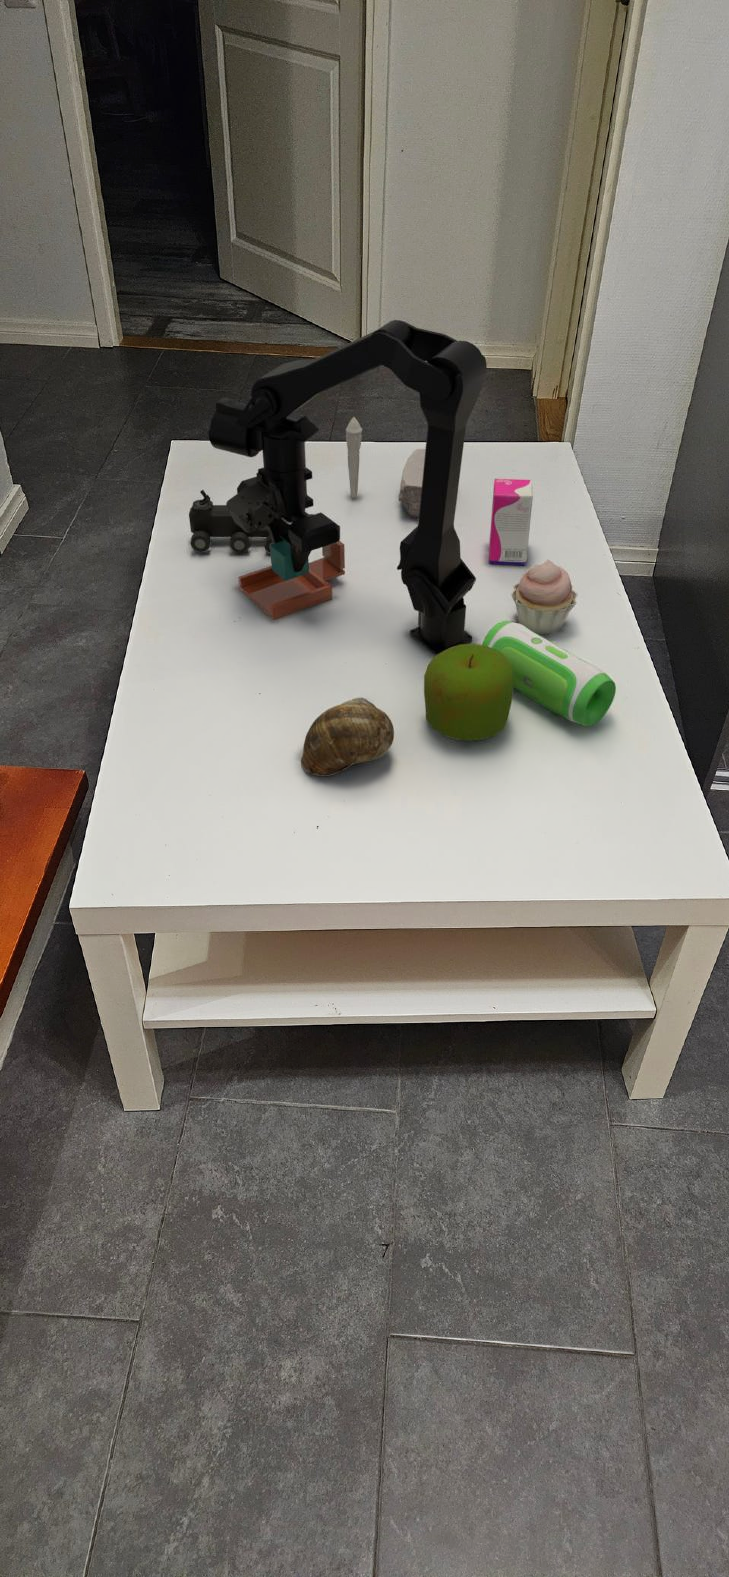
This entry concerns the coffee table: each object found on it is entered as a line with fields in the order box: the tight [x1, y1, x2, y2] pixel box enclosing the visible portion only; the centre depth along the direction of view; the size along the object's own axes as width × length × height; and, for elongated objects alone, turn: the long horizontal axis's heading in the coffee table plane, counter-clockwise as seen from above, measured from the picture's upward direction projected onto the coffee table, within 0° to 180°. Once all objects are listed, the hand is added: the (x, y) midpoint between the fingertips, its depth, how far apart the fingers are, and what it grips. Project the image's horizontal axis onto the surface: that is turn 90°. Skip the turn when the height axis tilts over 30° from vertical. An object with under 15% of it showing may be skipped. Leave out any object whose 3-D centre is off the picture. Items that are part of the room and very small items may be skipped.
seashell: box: [300, 697, 395, 777], centre depth 128 cm, size 11×9×8 cm
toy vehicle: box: [188, 489, 273, 555], centre depth 167 cm, size 8×15×9 cm, turn 90°
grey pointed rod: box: [345, 416, 363, 500], centre depth 176 cm, size 2×3×14 cm
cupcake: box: [510, 559, 579, 635], centre depth 149 cm, size 9×9×10 cm
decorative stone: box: [398, 448, 426, 520], centre depth 177 cm, size 15×7×10 cm
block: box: [270, 540, 310, 581], centre depth 155 cm, size 4×4×4 cm
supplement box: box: [488, 478, 534, 566], centre depth 163 cm, size 6×6×12 cm
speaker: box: [481, 620, 617, 727], centre depth 138 cm, size 18×7×8 cm, turn 42°
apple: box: [423, 643, 515, 742], centre depth 132 cm, size 11×11×11 cm
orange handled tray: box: [237, 540, 346, 621], centre depth 157 cm, size 10×14×6 cm
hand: (290, 564), depth 156 cm, fingers closed on block, 4 cm apart
